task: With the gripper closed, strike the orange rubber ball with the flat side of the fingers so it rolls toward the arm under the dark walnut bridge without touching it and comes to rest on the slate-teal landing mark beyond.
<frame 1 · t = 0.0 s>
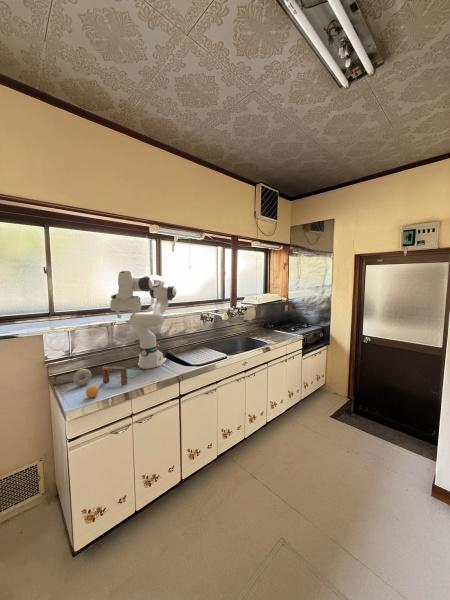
hand: (125, 318, 153), 39 cm above the counter, tool pointing down, fingers open, 8 cm apart
ball: (92, 391, 131), on the counter
landing mark: (130, 373, 163), on the counter
donut: (83, 385, 147), on the counter
bridge: (115, 383, 149), on the counter
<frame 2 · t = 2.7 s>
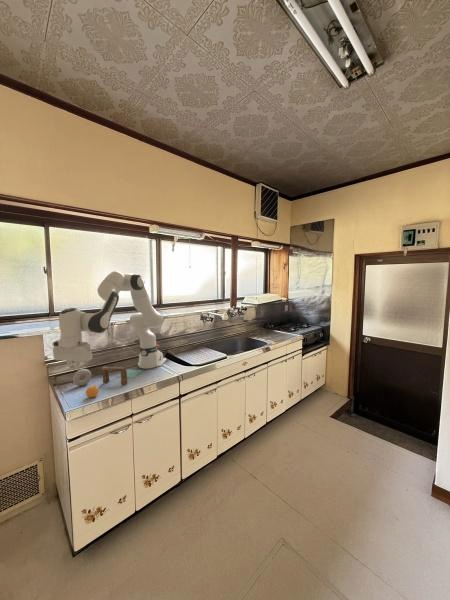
hand: (74, 369, 120), 19 cm above the counter, tool pointing down, fingers closed
nothing on the counter moved.
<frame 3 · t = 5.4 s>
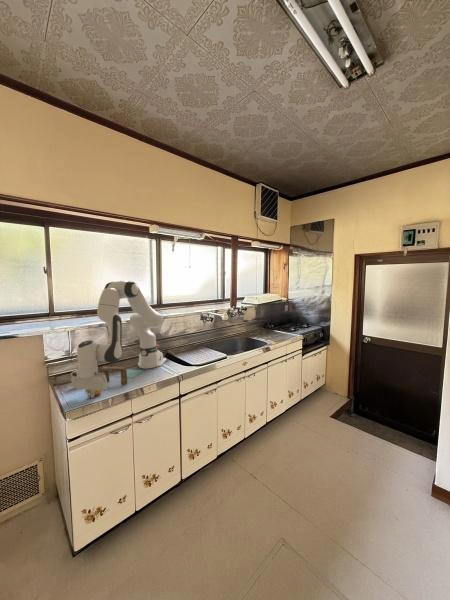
hand: (91, 396, 130), 1 cm above the counter, tool pointing down, fingers closed
ball: (96, 389, 134), on the counter
everything else where it was.
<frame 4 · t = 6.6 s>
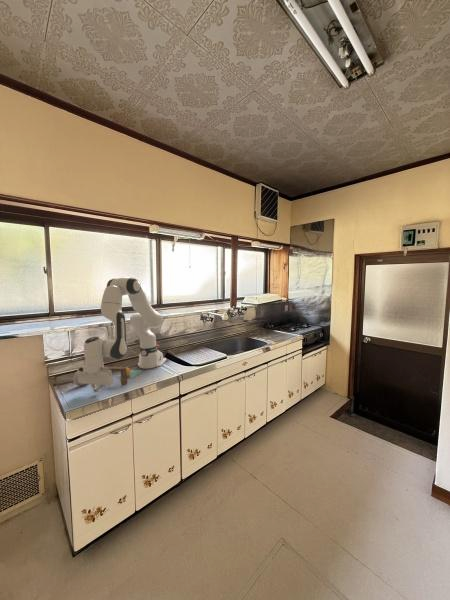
hand: (96, 391, 134), 2 cm above the counter, tool pointing down, fingers closed
ball: (125, 371, 159), on the counter
everything else where it was.
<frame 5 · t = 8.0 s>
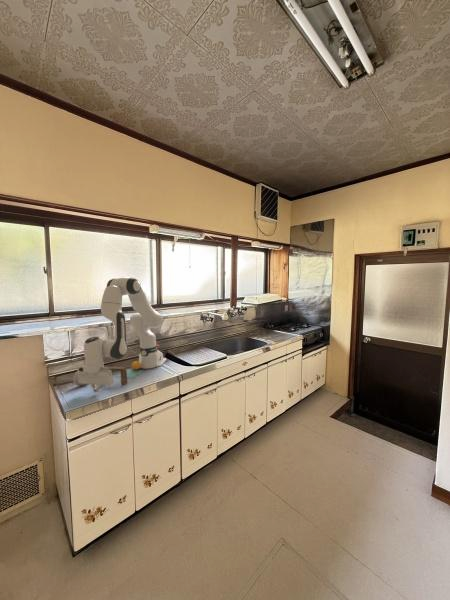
hand: (96, 391, 134), 2 cm above the counter, tool pointing down, fingers closed
ball: (136, 365, 171), on the counter
everything else where it was.
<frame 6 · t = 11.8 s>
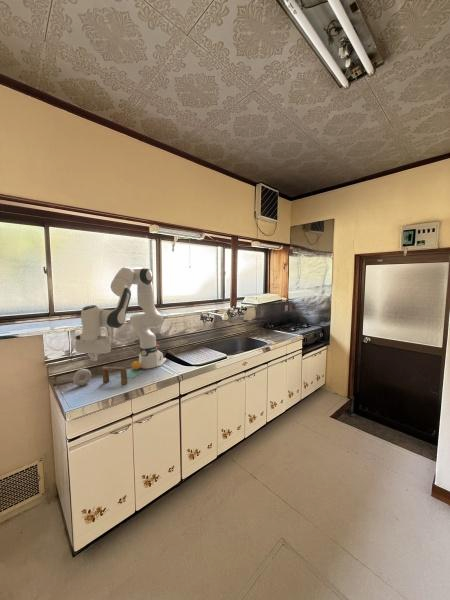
hand: (94, 360, 133), 19 cm above the counter, tool pointing down, fingers closed
nothing on the counter moved.
at the end: ball 7.7 cm from the landing mark (horizontally); ball never touched bridge; ball at rest at the end (0.0 cm/s) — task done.
